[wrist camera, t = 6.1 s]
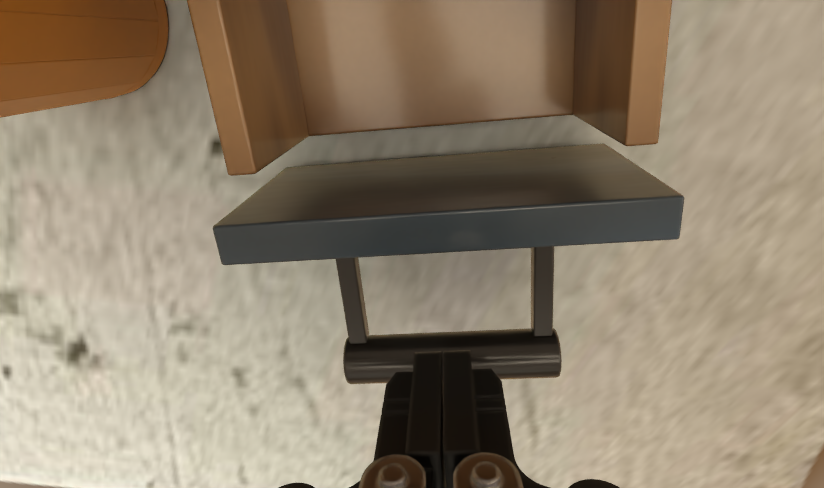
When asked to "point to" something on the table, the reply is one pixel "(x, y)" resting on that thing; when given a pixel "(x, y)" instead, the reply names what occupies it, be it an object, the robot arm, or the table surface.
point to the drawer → (437, 175)
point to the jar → (77, 50)
